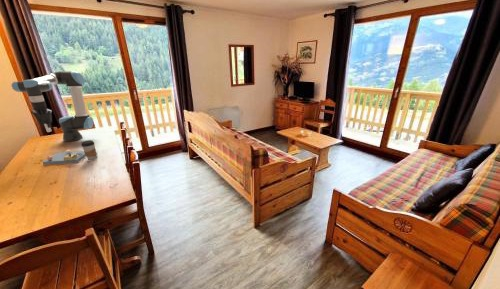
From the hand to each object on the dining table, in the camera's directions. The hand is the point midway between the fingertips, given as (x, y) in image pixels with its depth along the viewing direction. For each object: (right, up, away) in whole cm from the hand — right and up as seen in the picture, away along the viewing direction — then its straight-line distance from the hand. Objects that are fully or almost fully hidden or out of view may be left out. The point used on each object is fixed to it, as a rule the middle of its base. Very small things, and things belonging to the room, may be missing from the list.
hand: (49, 131), depth 164 cm
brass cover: (+18, -22, 0) cm, 28 cm away
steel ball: (+16, -20, +6) cm, 27 cm away
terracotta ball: (+3, -21, -2) cm, 21 cm away
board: (+10, -22, +6) cm, 25 cm away
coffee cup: (+30, -22, +6) cm, 38 cm away
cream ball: (+7, -16, +9) cm, 20 cm away
